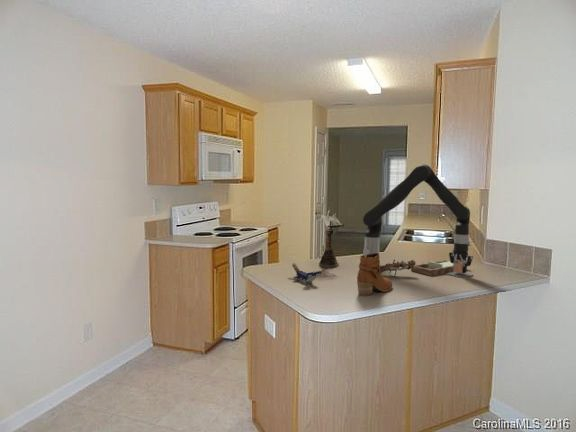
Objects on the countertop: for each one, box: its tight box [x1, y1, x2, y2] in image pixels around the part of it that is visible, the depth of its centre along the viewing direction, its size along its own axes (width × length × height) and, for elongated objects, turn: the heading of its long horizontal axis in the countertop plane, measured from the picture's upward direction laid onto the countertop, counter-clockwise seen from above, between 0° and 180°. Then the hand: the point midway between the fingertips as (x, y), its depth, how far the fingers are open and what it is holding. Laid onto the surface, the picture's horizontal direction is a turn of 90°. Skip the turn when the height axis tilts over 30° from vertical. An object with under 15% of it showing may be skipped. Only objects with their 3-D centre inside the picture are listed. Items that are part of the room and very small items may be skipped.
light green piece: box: [428, 248, 462, 269], centre depth 241 cm, size 22×9×9 cm, turn 121°
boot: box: [356, 252, 393, 297], centre depth 193 cm, size 24×9×19 cm, turn 125°
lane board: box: [410, 260, 453, 277], centre depth 238 cm, size 30×14×3 cm, turn 121°
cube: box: [453, 262, 468, 274], centre depth 226 cm, size 5×5×5 cm
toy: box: [291, 262, 322, 284], centre depth 212 cm, size 10×23×10 cm, turn 27°
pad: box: [446, 272, 474, 279], centre depth 226 cm, size 10×10×1 cm
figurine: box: [380, 259, 417, 276], centre depth 224 cm, size 10×10×28 cm
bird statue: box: [318, 209, 345, 269], centre depth 245 cm, size 17×13×35 cm
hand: (459, 271), depth 226 cm, fingers closed on cube, 4 cm apart
